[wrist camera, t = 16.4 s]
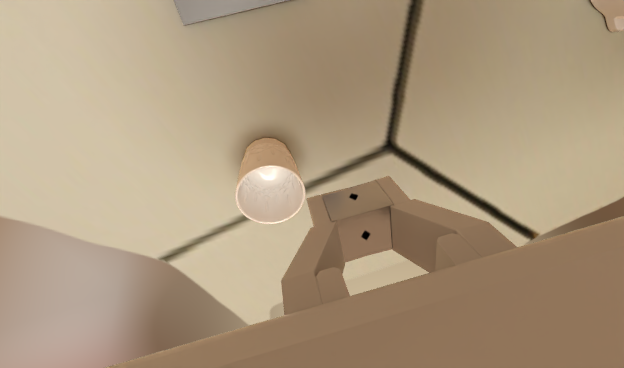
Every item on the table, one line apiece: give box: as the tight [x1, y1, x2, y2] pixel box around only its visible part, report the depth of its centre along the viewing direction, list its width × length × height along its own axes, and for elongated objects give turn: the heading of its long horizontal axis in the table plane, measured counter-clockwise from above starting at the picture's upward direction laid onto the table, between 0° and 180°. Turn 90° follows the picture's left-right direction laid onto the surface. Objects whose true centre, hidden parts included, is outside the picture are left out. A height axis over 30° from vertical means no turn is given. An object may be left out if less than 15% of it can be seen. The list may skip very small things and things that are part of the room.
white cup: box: [235, 138, 305, 224], centre depth 36 cm, size 8×8×10 cm
